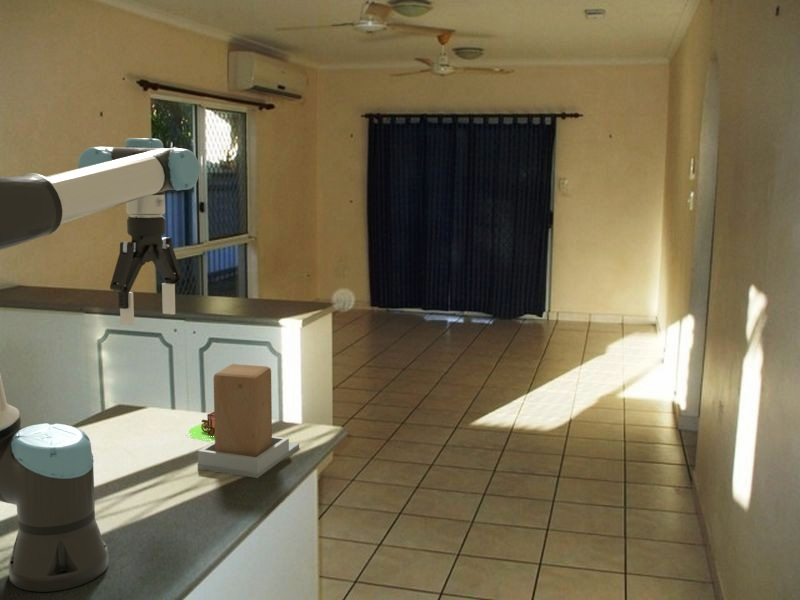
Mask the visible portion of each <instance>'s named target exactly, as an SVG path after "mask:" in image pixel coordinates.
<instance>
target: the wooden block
mask: <svg viewBox="0 0 800 600" xmlns="http://www.w3.org/2000/svg"><path fill="white" fill-rule="evenodd" d="M271 369H272V368H271V367H269V366H266V365H265V366H264V365H263V366H262V365H252V364H251V365H249V364H237V363H236V364H235V363H232V364H230V365H228V366H226V367H225V368H222V369H221V370H220V371H218V372H216V373H214V375H213V410H214V411H213V412H214V420H215V452H222V453H229V454H236V455H243V456H250V457H257V456H259V455H260V454H262V453H263V452H264V451H266V450H267V449H269V448H270V447H272V436H273V420H272V419H273V418H272V417H273V416H272V415H273V413H272V412H273V410H272V370H271Z"/></svg>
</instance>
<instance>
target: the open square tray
mask: <svg viewBox="0 0 800 600" xmlns="http://www.w3.org/2000/svg"><path fill="white" fill-rule="evenodd" d="M289 439H290V438H289V437H280V436H274V435H272V447H270V448H269V449H267V450H266V451H264V452H263V453H262V454H260V455H259V456H257V457H250V456H243V455H236V454H229V453H222V452H215V441H214V442H210V443H209V444H207V445H206V446H204V447H202V448H200V449H198V450H197V462H198V463H197V469H198V470H202V471H209V472H217V473H223V474H229V475H233V476H234V475H236V476H242V477H247V478H248V477H249V478H254V479H255V478H256V479H258V478H259V477H261V476H262V475H263V474H265V473H266V472H268V471H269V470H270V469H272V468H274V467H275V466H277V464H279V463H280V462H282V461H283V460H285V458H287V457H289V456H290V455H291V454H293V453H294V452H295V451H297V450H298V449H300V443H296V442H290V440H289Z"/></svg>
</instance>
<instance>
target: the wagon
mask: <svg viewBox="0 0 800 600" xmlns="http://www.w3.org/2000/svg"><path fill="white" fill-rule="evenodd" d="M206 416H207V418H206V419H204V418H203V419H202V420H201V423H200V424H198V425H196V426H193V427H192V428H190V429H189V433H190V434H191V433H192V434H191V435H190V437H191V436H192V437H191V438H190V439H194V440H195V439H196V440H199V441H205V442H210V441H215V420H214V411H213V412H210V413H208V414H206ZM194 432H195V433H194ZM189 433H188V434H189ZM193 436H194V437H193ZM209 436H210V437H209ZM211 436H212V437H211ZM213 436H214V437H213ZM202 437H203V438H202ZM204 437H205V438H204ZM203 439H204V440H203ZM205 439H206V440H205ZM207 439H208V440H207ZM209 439H211V440H209ZM210 443H211V442H210Z"/></svg>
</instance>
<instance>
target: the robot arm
mask: <svg viewBox="0 0 800 600" xmlns="http://www.w3.org/2000/svg"><path fill="white" fill-rule="evenodd" d="M77 165H78V166H77V168H76V169H72V170H67V171H63V172H59V173H55V174H50V175H47V176H44V175H42V174H39V173H32V172H31V173H26V174H25V173H24V174H22V175H16V176H14V175H13V176H12V175H11V176H0V251H2V250H6V249H9V248H13V247H17V246H20V245H22V244H25V243H28V242H31V241H34V240H37V239H41V238H43V237H46V236H50V235H51V234H54V233H55V232H57V231H58V230H59V229H60V228H61V226H62V224H65V223H67V222H71V221H74V220H77V219H80V218H83V217H87V216H89V215H93V214H96V213H99V212H102V211H104V210H108V209H111V208H114V207H118V206H120V205H124V204H126V207H125V208H126V214H127V215H129V216H127V218H126V225H127V226H126V231H127V235H128V236H130V237H131V241H120V244H119V255H118V258H117V261H116V264H115V268H114V271H113V275H112V278H111V282H110V285H109V287H110V288H109V289H110V290H112V291H113V292H116V293H118V307H119V312H120V313H119V315H120V322H119V323H120V325H128V326H134V325H135V309H134V304H135V303H134V292H133V291H131V290H132V288H133V286H134V283H135V282H136V279H137V278H138V275H139V273H140V271H141V269H142V267H143V266H144V265H145V264H146V263H150V262H152V263H153V265H154V266H155V267H156V269H157V271H158V272H159V274H160V276H161V277H162V279H163V281H164V282H161V293H162V294H161V295H162V297H161V301H162V314H164V315H174V316H175V315H176V292H177V291H176V284H180V283H181V280H182V278H183V274H182V272H181V268H180V265H179V262H178V259H177V257H176V253H175V251H174V246H173V238H172V237H165V236H164V235H166V234H167V232H166V231H167V227H166V226H167V225H166V218H165V216H163V215H165V213H166V202H165V201H166V199H165V198H166V197H165V194H166V191H169V190H170V191H171V190H175V191H183V190H190V189H192V188H193V187H194V186H195V185H196V184H197V182H198V179H199V176H200V168H199V160H198V158H197V156H196V155H195V153H194V152H193V151H192V150H190V149H186V148H178V147H170V148H169V147H168V148H165V147H164V143H163V141H162V140H161V139H158V138H145V137H144V138H139V137H138V138H137V137H135V138H134V137H128V138H126V139H125V141H124V146H123V147H118V146H117V147H116V146H103V145H102V146H100V145H99V146H93V147H88V148H86V149H85V150H84V151H82V153H81V154H80V156H79V158H78V164H77ZM163 236H164V237H163ZM2 379H3V378H2V374H1V373H0V502H2V503H7V504H11V505H15V506H16V514H17V528H18V531H17V534H16V538H15V541H14V544H13V545H14V546H13V549H12V553H11V557H10V560H9V563H8V574H9V575H8V576H9V581H10V583H11V584H12V585H13V586H15V587H16V588H19V589H21V590H24V591H28V592H38V593H39V592H40V593H41V592H42V593H44V592H45V593H46V592H48V593H49V592H57V591H58V592H59V591H64V590H68V589H72V588H75V587H79V586H82V585H84V584H88V583H90V582H92V581H93V580H95V579H98V577H99V576H101V575H102V574H103V573H104V572H105V571H106V570H107V568H108V566H109V550H108V546H107V544H106V542H105V541H104V540H103V537H102V533H101V531H100V528H99V526H98V523H97V521H96V514H95V513H96V511H95V508H96V506H95V503H96V502H95V480H94V479H95V478H94V477H95V475H94V474H95V473H94V471H95V470H94V461H95V460H94V455H93V452H92V443H91V440H90V437H89V436H88V435H87V434H86V432H84V431H83V430H81V429H80V428H77V427H75V426H73V425H68V424H65V423H54V424H50V423H38V424H33V425H32V424H31V425H29V426H26V427H24V428H23V423H22V419H21V414H20V410H19V409H18V408H17V407H16V406H13V405H11V404H9V403H7V398H6V393H5V388H4V383H3V380H2Z"/></svg>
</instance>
